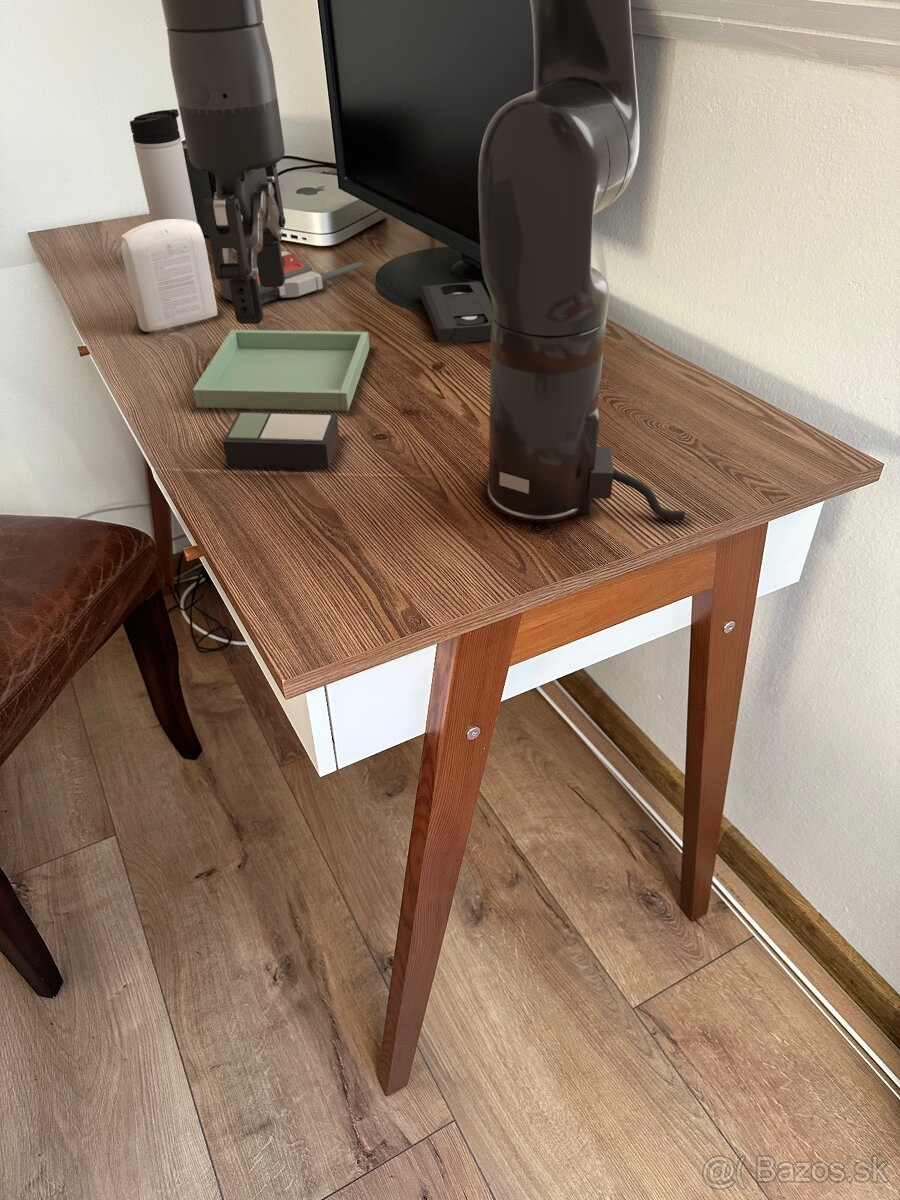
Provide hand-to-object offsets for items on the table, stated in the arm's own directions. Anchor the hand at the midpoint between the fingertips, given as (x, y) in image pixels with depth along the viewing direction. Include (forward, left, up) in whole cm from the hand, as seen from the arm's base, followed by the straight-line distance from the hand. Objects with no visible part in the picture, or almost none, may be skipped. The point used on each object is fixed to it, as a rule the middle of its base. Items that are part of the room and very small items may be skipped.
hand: (262, 303), depth 78 cm
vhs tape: (-15, -34, -16) cm, 41 cm away
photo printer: (+21, -32, -16) cm, 41 cm away
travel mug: (+27, -53, -16) cm, 62 cm away
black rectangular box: (0, 0, -16) cm, 16 cm away
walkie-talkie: (+9, -44, -16) cm, 48 cm away
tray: (+4, -17, -16) cm, 23 cm away
